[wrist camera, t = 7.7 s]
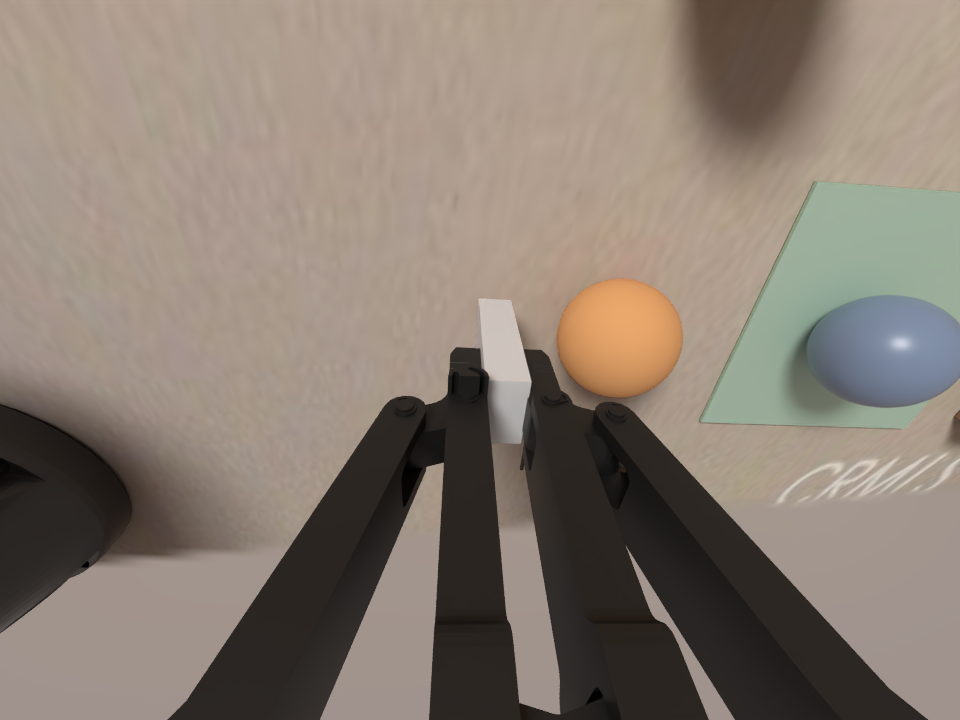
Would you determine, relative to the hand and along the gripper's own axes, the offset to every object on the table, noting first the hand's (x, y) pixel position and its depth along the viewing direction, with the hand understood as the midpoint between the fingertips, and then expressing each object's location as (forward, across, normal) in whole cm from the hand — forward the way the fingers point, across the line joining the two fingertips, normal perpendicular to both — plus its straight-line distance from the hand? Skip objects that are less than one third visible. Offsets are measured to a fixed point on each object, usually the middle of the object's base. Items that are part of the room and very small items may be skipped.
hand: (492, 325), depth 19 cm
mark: (+2, +21, 0) cm, 21 cm away
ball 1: (-1, +6, 0) cm, 6 cm away
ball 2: (-1, +19, 0) cm, 19 cm away
